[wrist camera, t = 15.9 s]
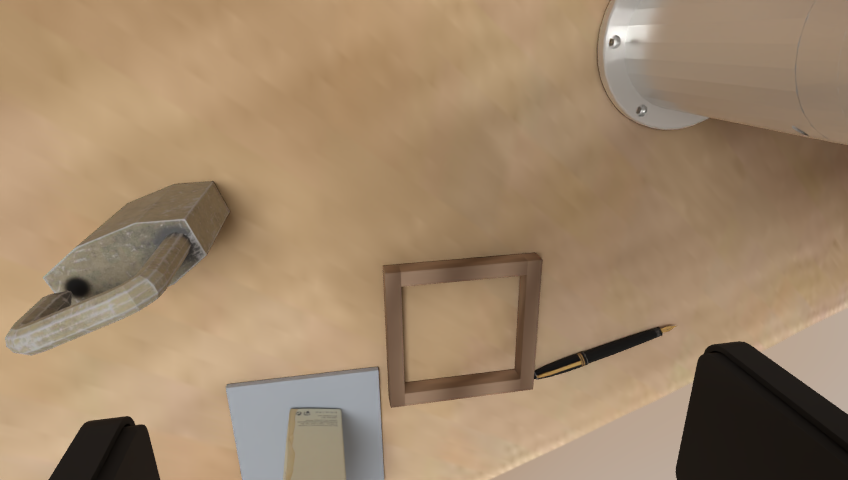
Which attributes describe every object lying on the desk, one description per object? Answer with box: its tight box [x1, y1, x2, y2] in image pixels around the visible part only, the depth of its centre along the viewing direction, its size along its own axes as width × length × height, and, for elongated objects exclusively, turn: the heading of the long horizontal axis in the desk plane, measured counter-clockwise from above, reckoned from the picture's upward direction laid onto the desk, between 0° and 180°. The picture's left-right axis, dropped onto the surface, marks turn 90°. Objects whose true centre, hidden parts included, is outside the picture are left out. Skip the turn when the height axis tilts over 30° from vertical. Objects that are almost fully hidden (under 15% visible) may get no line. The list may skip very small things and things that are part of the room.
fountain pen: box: [534, 326, 676, 379], centre depth 47 cm, size 14×1×2 cm, turn 106°
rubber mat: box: [226, 367, 384, 480], centre depth 45 cm, size 12×12×1 cm
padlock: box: [5, 182, 230, 355], centre depth 30 cm, size 4×8×15 cm, turn 111°
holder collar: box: [383, 253, 542, 408], centre depth 43 cm, size 12×12×2 cm
